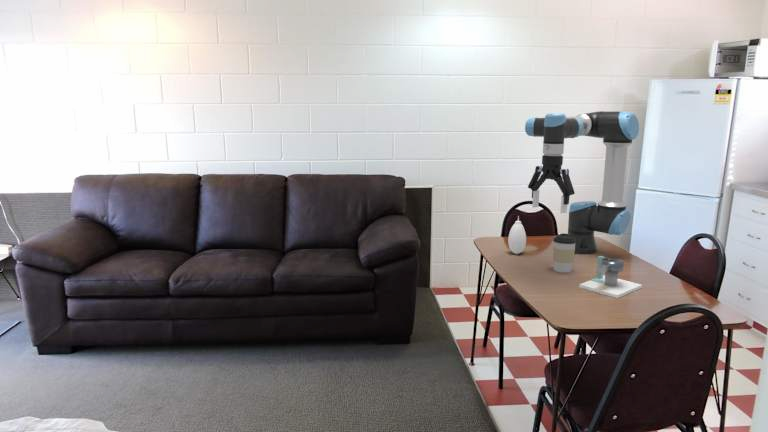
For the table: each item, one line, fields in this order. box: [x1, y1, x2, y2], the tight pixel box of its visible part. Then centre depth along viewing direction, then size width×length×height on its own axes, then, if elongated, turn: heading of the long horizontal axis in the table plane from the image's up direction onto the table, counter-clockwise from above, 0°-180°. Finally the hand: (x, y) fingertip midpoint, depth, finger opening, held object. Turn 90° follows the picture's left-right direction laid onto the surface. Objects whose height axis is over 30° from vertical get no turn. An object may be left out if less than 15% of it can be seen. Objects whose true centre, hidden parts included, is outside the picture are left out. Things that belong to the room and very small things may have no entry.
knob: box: [597, 257, 625, 273], centre depth 197 cm, size 15×8×3 cm, turn 128°
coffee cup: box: [552, 233, 576, 274], centre depth 219 cm, size 9×9×15 cm
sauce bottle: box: [507, 215, 527, 255], centre depth 243 cm, size 8×8×18 cm
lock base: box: [578, 255, 643, 299], centre depth 198 cm, size 18×15×10 cm
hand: (549, 209), depth 205 cm, fingers open, 13 cm apart
